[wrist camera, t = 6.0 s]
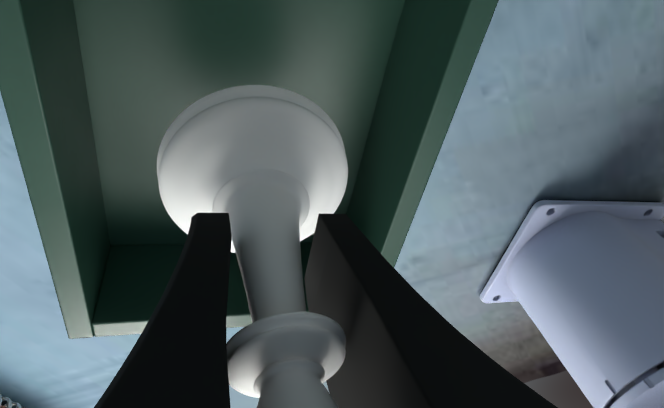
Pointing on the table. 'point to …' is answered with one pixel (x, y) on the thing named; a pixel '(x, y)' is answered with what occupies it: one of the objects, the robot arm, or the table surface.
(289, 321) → the chess piece
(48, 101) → the tote
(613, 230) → the robot arm
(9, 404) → the notebook
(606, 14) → the table surface
